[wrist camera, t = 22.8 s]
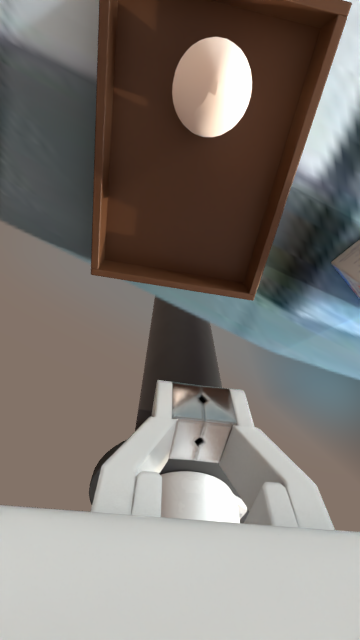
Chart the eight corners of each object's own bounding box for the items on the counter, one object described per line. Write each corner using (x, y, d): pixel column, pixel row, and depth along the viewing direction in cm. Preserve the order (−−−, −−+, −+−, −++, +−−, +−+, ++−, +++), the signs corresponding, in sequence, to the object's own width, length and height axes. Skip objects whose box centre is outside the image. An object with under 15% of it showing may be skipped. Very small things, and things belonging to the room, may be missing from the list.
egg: (252, 111, 22) (280, 98, 16) (195, 152, 23) (201, 154, 17) (220, 35, 20) (238, -11, 14) (159, 85, 21) (152, 61, 15)
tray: (246, 287, 29) (253, 300, 26) (98, 262, 28) (90, 274, 25) (329, 21, 20) (352, 2, 17) (112, -35, 18) (101, -65, 16)
